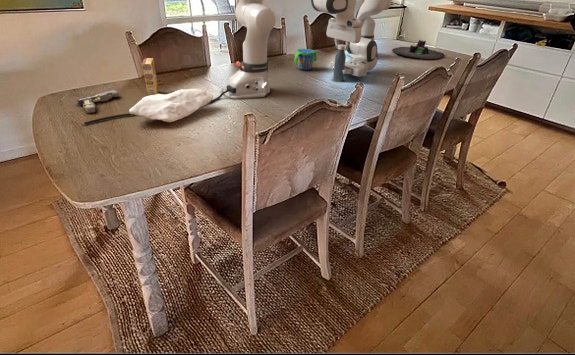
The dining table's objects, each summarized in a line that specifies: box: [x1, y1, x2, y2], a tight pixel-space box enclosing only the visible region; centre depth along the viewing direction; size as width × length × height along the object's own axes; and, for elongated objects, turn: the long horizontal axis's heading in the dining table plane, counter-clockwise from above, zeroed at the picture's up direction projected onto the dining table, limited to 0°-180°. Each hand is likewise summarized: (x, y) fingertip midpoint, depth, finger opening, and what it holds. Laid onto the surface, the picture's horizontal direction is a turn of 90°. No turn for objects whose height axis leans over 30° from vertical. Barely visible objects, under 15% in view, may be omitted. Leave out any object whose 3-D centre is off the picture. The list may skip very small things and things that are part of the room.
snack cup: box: [293, 48, 318, 71], centre depth 208 cm, size 16×10×10 cm
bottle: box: [332, 49, 347, 83], centre depth 191 cm, size 6×6×18 cm
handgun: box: [76, 89, 120, 114], centre depth 155 cm, size 3×18×15 cm
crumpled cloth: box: [128, 88, 214, 123], centre depth 147 cm, size 24×35×9 cm
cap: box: [337, 43, 345, 50], centre depth 186 cm, size 4×4×2 cm
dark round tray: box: [391, 39, 445, 60], centre depth 250 cm, size 35×35×9 cm
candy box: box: [141, 57, 160, 96], centre depth 163 cm, size 9×4×15 cm, turn 13°
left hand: (341, 49), depth 187 cm, fingers closed on cap, 4 cm apart
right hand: (338, 70), depth 192 cm, fingers closed on bottle, 5 cm apart
